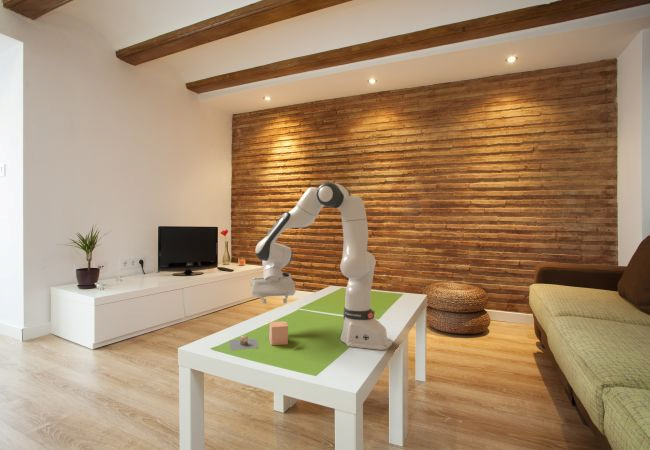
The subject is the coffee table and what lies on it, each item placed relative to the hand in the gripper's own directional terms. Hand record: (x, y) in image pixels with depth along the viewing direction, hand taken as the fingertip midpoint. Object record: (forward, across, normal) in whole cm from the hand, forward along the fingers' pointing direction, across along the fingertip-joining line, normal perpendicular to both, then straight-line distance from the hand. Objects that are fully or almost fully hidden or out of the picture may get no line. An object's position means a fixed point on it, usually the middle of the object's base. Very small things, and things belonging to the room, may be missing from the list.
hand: (274, 303), depth 160 cm
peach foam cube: (+19, 0, +1) cm, 19 cm away
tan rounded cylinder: (+18, -14, 0) cm, 23 cm away
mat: (+19, -14, +1) cm, 24 cm away
